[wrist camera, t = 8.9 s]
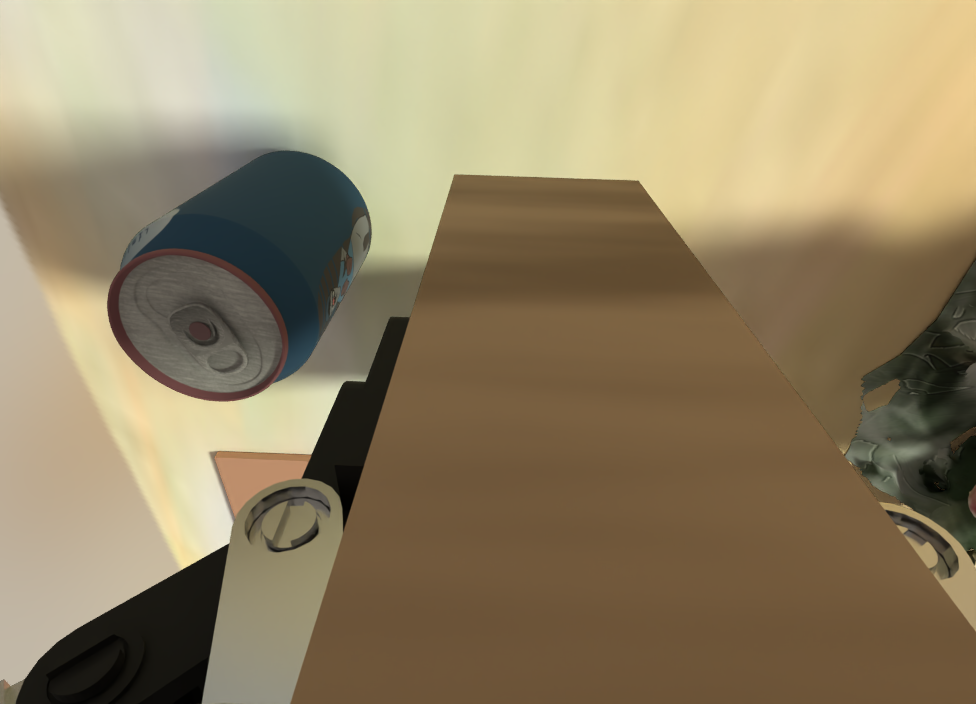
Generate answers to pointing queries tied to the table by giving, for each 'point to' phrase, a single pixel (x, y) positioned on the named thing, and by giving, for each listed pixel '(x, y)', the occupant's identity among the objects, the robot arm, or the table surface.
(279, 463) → the rest tile
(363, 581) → the brown long rectangular block
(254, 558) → the robot arm
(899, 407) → the rose bouquet
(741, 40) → the table surface
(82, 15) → the table surface
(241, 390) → the soda can
